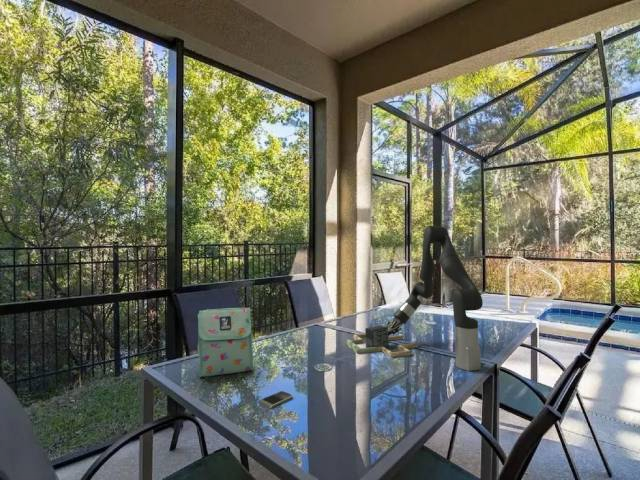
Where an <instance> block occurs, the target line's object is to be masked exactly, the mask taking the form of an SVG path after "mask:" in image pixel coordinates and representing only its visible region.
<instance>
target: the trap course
mask: <svg viewBox="0 0 640 480" xmlns="http://www.w3.org/2000/svg"><path fill="white" fill-rule="evenodd" d="M352 337H353V338H352V339H349V338H345V345H346V346H347V345H348V346H347V347H349V348H350V349H351V350H352V351H353V352H354V353H356V354H367V353H376V352H382V353H383V354H386V355H387V356H388V357H390V358H397V357H407V356H409V357H410V356H411V355H412V351H411V350H410V349H414V348H415V347H417V348H419V343H418V342H413V343H412V342H411V343H401V344H397V345H396V347H397V348H396V349H395V348H394V349H388V348H385V347H383V346H380V347H370V348H366V347H361V348H360V347H359V346H358V345H359V344H360V345H361V344H364V343H366V333H357V334H356V333H355V334H352ZM388 340H393V341H401V340H402V341H403V340H404V335H402V334H401V335H390V336H389V337H388ZM363 342H364V343H363ZM357 344H358V345H357Z"/></svg>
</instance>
